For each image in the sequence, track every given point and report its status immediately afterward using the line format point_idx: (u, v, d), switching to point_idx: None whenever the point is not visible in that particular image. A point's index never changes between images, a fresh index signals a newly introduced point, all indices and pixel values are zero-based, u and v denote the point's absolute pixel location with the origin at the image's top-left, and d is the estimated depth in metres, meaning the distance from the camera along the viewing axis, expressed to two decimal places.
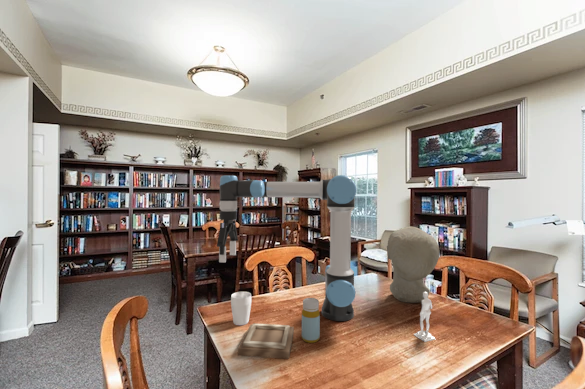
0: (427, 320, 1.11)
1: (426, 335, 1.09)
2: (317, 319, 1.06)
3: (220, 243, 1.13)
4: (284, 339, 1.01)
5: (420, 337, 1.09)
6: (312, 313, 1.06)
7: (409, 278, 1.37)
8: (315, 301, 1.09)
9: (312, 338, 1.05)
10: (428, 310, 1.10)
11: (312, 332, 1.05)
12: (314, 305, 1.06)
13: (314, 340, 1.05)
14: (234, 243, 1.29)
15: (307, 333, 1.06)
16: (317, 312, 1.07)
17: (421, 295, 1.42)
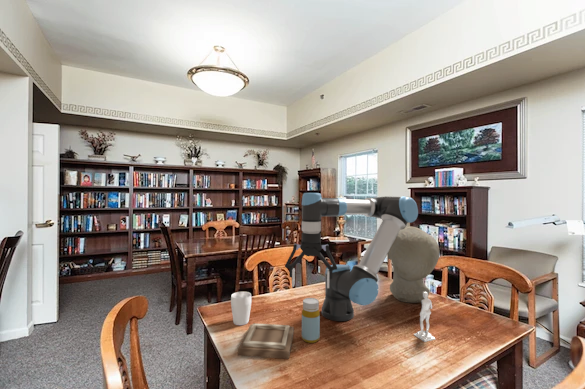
0: (427, 320, 1.11)
1: (426, 335, 1.09)
2: (317, 319, 1.06)
3: None
4: (284, 339, 1.01)
5: (420, 337, 1.09)
6: (312, 313, 1.06)
7: (409, 278, 1.37)
8: (315, 301, 1.09)
9: (312, 338, 1.05)
10: (428, 310, 1.10)
11: (312, 332, 1.05)
12: (314, 305, 1.06)
13: (314, 340, 1.05)
14: (327, 273, 1.07)
15: (307, 333, 1.06)
16: (317, 312, 1.07)
17: (421, 295, 1.42)
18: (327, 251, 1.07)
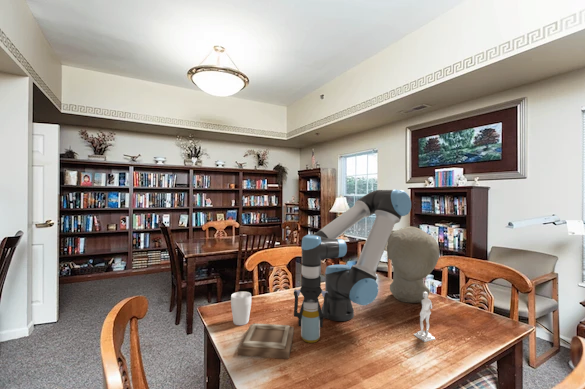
0: (427, 320, 1.11)
1: (426, 335, 1.09)
2: (317, 319, 1.06)
3: (294, 313, 1.09)
4: (284, 339, 1.01)
5: (420, 337, 1.09)
6: (312, 313, 1.06)
7: (409, 278, 1.37)
8: None
9: (312, 338, 1.05)
10: (428, 310, 1.10)
11: (312, 332, 1.05)
12: (314, 305, 1.06)
13: (314, 340, 1.05)
14: None
15: (307, 333, 1.06)
16: (317, 312, 1.07)
17: (421, 295, 1.42)
18: (325, 298, 1.07)
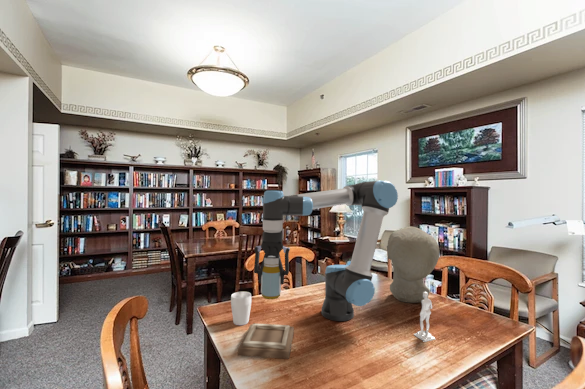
0: (427, 320, 1.11)
1: (426, 335, 1.09)
2: (277, 275, 1.03)
3: None
4: (284, 339, 1.01)
5: (420, 337, 1.09)
6: (272, 268, 1.02)
7: (409, 278, 1.37)
8: None
9: (272, 294, 1.02)
10: (428, 310, 1.10)
11: (272, 287, 1.02)
12: (274, 260, 1.03)
13: (273, 296, 1.02)
14: None
15: (266, 289, 1.02)
16: (277, 268, 1.03)
17: (421, 295, 1.42)
18: (286, 254, 1.04)
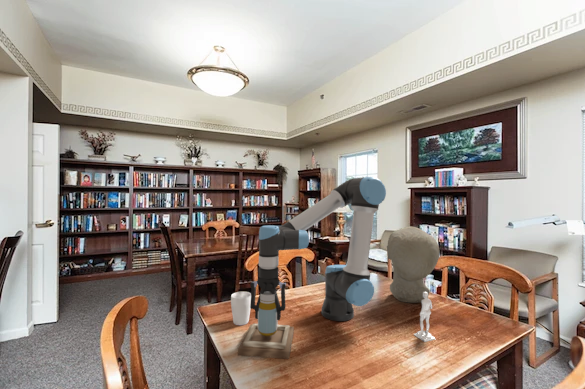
0: (427, 320, 1.11)
1: (426, 335, 1.09)
2: (273, 311, 1.03)
3: None
4: (284, 339, 1.01)
5: (420, 337, 1.09)
6: (268, 305, 1.02)
7: (409, 278, 1.37)
8: None
9: (268, 331, 1.02)
10: (428, 310, 1.10)
11: (268, 324, 1.02)
12: (270, 297, 1.02)
13: (270, 333, 1.02)
14: None
15: (263, 326, 1.02)
16: (274, 304, 1.03)
17: (421, 295, 1.42)
18: (282, 290, 1.04)
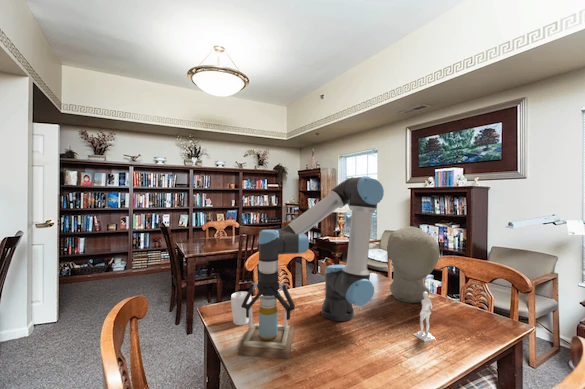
0: (427, 320, 1.11)
1: (426, 335, 1.09)
2: (274, 316, 1.03)
3: None
4: (284, 339, 1.01)
5: (420, 337, 1.09)
6: (268, 310, 1.02)
7: (409, 278, 1.37)
8: (273, 297, 1.05)
9: (268, 336, 1.02)
10: (428, 310, 1.10)
11: (268, 329, 1.02)
12: (271, 302, 1.02)
13: (270, 338, 1.02)
14: None
15: (263, 331, 1.02)
16: (274, 309, 1.03)
17: (421, 295, 1.42)
18: (284, 291, 1.03)
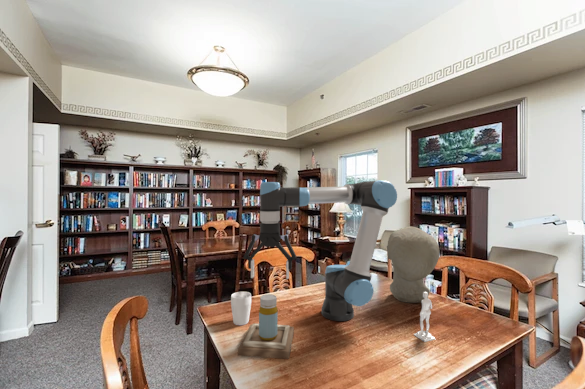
0: (427, 320, 1.11)
1: (426, 335, 1.09)
2: (274, 316, 1.03)
3: (244, 255, 1.07)
4: (284, 339, 1.01)
5: (420, 337, 1.09)
6: (268, 310, 1.02)
7: (409, 278, 1.37)
8: (273, 297, 1.05)
9: (268, 336, 1.02)
10: (428, 310, 1.10)
11: (268, 329, 1.02)
12: (271, 302, 1.02)
13: (270, 338, 1.02)
14: (286, 264, 1.05)
15: (263, 331, 1.02)
16: (274, 309, 1.03)
17: (421, 295, 1.42)
18: (286, 241, 1.05)
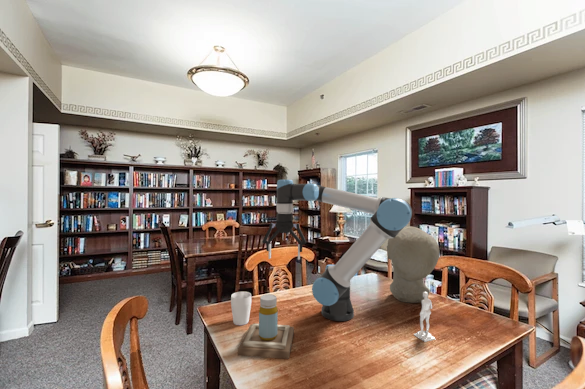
0: (427, 320, 1.11)
1: (426, 335, 1.09)
2: (274, 316, 1.03)
3: (263, 240, 1.30)
4: (284, 339, 1.01)
5: (420, 337, 1.09)
6: (268, 310, 1.02)
7: (409, 278, 1.37)
8: (273, 297, 1.05)
9: (268, 336, 1.02)
10: (428, 310, 1.10)
11: (268, 329, 1.02)
12: (271, 302, 1.02)
13: (270, 338, 1.02)
14: (298, 247, 1.27)
15: (263, 331, 1.02)
16: (274, 309, 1.03)
17: (421, 295, 1.42)
18: (297, 228, 1.27)
